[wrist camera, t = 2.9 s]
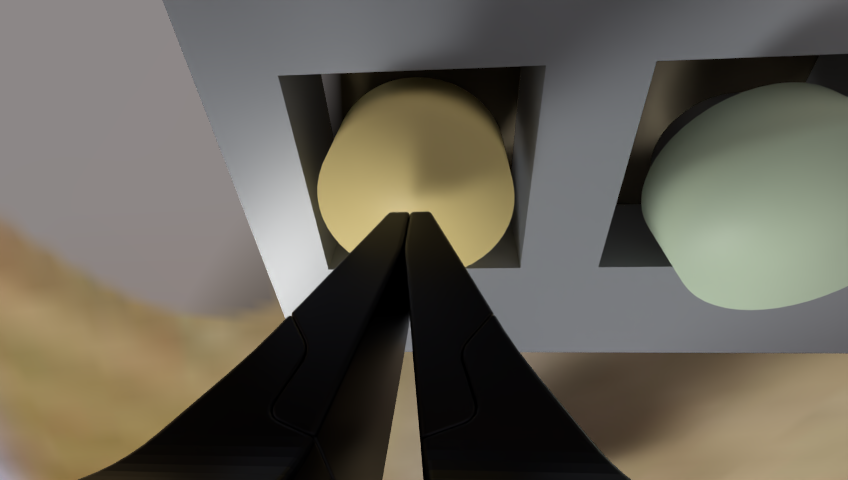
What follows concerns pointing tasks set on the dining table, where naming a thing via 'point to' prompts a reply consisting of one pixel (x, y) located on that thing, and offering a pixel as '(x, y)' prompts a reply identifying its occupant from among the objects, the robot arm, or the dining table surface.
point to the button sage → (754, 196)
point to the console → (532, 153)
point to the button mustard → (419, 166)
